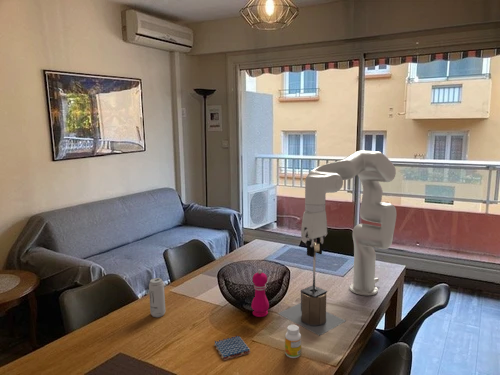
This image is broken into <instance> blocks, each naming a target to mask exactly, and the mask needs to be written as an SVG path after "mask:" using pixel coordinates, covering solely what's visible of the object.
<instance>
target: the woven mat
mask: <svg viewBox="0 0 500 375" xmlns="http://www.w3.org/2000/svg"><path fill="white" fill-rule="evenodd" d="M213 346H214V347H215V350H217V351H218V353H217V354H218V355H220V356H221V359H223V361H226V360H231V359H235V358H237V357H241V356H244V355H245V356H246V355H247V354H251V348H250V347H249V346H248V344H247V343H245V341H244V340H243V339H242V338H241V336H239V335H238V336H237V335H235V336H231V337H230V338H229V337H227V338H223V339H219V341H216V340H214V344H213Z"/></svg>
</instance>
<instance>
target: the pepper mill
mask: <svg viewBox="0 0 500 375" xmlns="http://www.w3.org/2000/svg"><path fill="white" fill-rule="evenodd" d="M252 282H253V289H254V291H255V292H254V296H255V297H253V299H252V301H251V305H250V306H251V307H250V308H251V310H252V315H253V316H255V317H256V318H257V317H258V318H262V317H266V316H267V315H269V312H268V310H269V308H270V303H269V302H270V301H269V300H268V297H267V295H266V289H267V282H268V276H267V274H266V273H264V272H263V270H262V269H261V268H259V269H258V270H257V272H256V273H254V274H253V276H252ZM253 310H254V311H253Z"/></svg>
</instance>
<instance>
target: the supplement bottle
mask: <svg viewBox="0 0 500 375" xmlns="http://www.w3.org/2000/svg"><path fill="white" fill-rule="evenodd" d="M286 328H287V329H286V333H285V336H284V349H285V350H284V353H285V354H284V355H286V357H287V358H291V359H296V358H299V357H300V356H301V354H302V353H301V352H302V334H301V333H300V326H298V324H297V325H296V324H289V325H288V326H287V327H286Z"/></svg>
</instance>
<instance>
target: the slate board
mask: <svg viewBox="0 0 500 375" xmlns="http://www.w3.org/2000/svg"><path fill="white" fill-rule="evenodd" d="M277 315H280V316H282V317H283V318H286V319H287V320H289V321H291V322H293V323H295V325H296V324H297V326H298V325H299V327H303V328H304V329H306V330H308V331H310V332H312V333H314V334H315V335H318V336H322V335H324V334H325V333H327V332H329V331H331V330H333V329H334V328H337V327H338V326H340V325H341V324H343V323H345V322H347V320H346V319H343V318H341V317H339V316H337V315H334V314H333V313H330V312H328V311H326V323H325V324H324V325H321V326H309V325H306V324H304V323H303V322H302V321H301V316H302V311H301V302H300V303H298V304H295V305H293V306H291V307H288V308H287V309H284V310H282V311H280V312H278V313H277Z"/></svg>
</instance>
